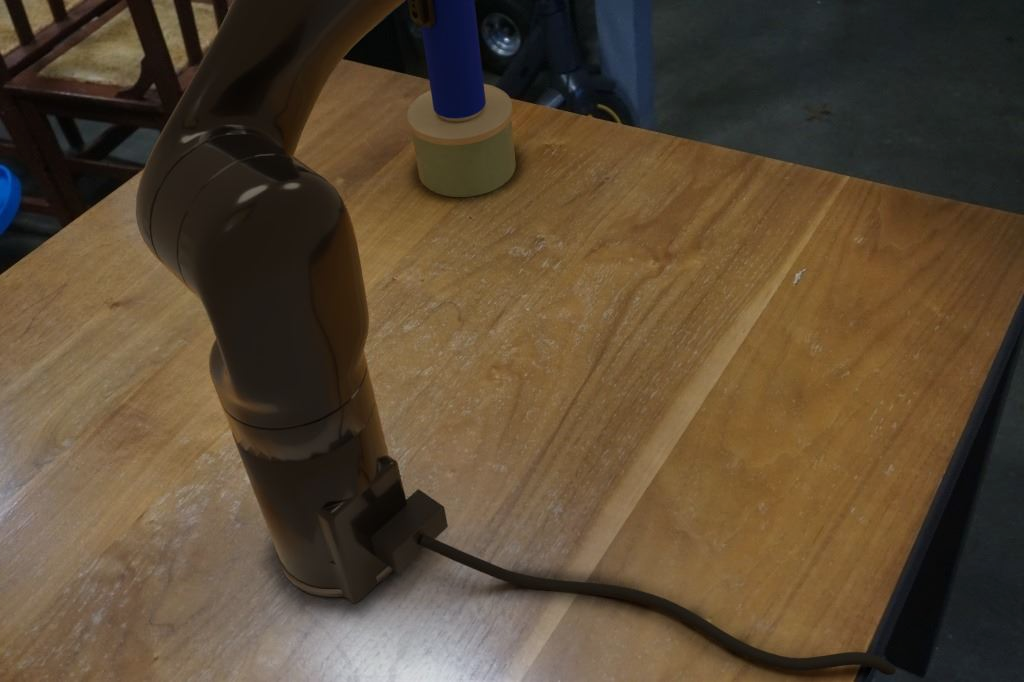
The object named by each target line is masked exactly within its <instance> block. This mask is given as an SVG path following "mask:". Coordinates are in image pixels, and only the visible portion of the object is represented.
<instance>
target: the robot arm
mask: <svg viewBox="0 0 1024 682" xmlns="http://www.w3.org/2000/svg"><path fill="white" fill-rule="evenodd" d="M406 1H407V5H408V11H409V12H408V13H409V17H410V19H411V20H412V21H413V22H414V23H415V24H416V25H417V26H420V27H421V26H423V27H426V28H430V27H432V26H434V25H435V24H436V18H435V11H434V4H433V0H232V2H231V3H230V6H229V8H228V11H227V13H226V14H225V16H224V19H223V21H222V23H221V24H220V27H219V29H218V30H217V33H216V35H214V38H213V40H212V42H211V44H210V45H209V47H208V49H207V51H206V52H205V55H204V56H203V58H202V60H201V62H200V64H199V66H198V67H197V68H196V71H195V72H194V74H193V76H192V77H191V79H190V81H189V83H188V85H187V87H186V89H185V90H184V92H183V94H182V95H181V97H180V99H179V101H178V102H177V104H176V106H175V107H174V110H173V112H172V113H171V115H170V117H169V118H168V120H167V122H166V124H165V125H164V128H163V129H162V131H161V133H160V135H159V137H158V138H157V140H156V143H155V144H154V146H153V148H152V150H151V152H150V154H149V156H148V159H147V161H146V163H145V166H144V168H143V171H142V173H141V177H140V179H139V184H138V187H137V192H136V200H135V202H136V203H135V217H136V224H137V228H138V231H139V234H140V236H141V239H142V240H143V242H144V244H145V245H146V247H147V248H148V249H149V251H150V252H151V254H152V255H153V256H154V257H155V258H156V259H157V260H158V261H159V262H160V263H161V264H162V265H163V266H164V267H165V268H166V269H167V270H168V271H169V272H170V273H171V274H172V275H173V276H174V277H175V278H176V279H178V280H179V282H180V283H182V285H184V286H185V287H186V288H187V289H188V290H189V291H190V292H191V293H192V294H193V295H195V297H196V298H197V299H199V300H200V302H201V303H202V305H203V308H204V311H205V312H206V315H207V317H208V319H209V322H210V325H211V327H212V330H213V333H214V336H215V340H214V342H213V344H212V346H211V349H210V352H209V357H208V369H209V374H210V378H211V381H212V385H213V387H214V391H215V392H216V395H217V397H218V400H219V403H220V406H221V408H222V411H223V413H224V417H225V418H226V421H227V424H228V427H229V429H230V432H231V435H232V438H233V440H234V444H235V446H236V448H237V451H238V453H239V457H240V459H241V461H242V464H243V467H244V470H245V472H246V475H247V477H248V480H249V483H250V485H251V488H252V491H253V493H254V496H255V498H256V501H257V504H258V507H259V510H260V512H261V515H262V517H263V520H264V522H265V525H266V528H267V530H268V533H269V536H270V538H271V540H272V543H273V545H274V547H275V550H276V552H275V553H276V556H277V560H278V563H279V565H280V568H281V570H282V572H283V574H284V575H285V577H286V578H287V579H288V581H290V583H291V584H293V585H294V586H295V587H297V588H298V589H300V590H301V591H303V592H305V593H308V594H311V595H315V596H319V597H327V598H336V597H337V598H340V597H344V598H345V599H347V600H349V601H350V602H351V603H354V604H356V603H359V602H360V601H361V600H363V598H364V597H365V596H366V595H367V594H369V593H370V592H371V591H372V590H373V589H374V588H375V587H376V586H377V585H378V584H379V583H380V582H382V581H383V580H385V579H386V578H387V577H388V576H389V575H390V574H391V573H392V572H393V571H394V572H395V573H397V574H399V573H400V572H401V571H402V570H403V569H405V568H406V567H407V565H409V564H410V563H411V562H412V561H413V560H414V559H415V558H416V557H417V556H418V555H420V554H421V553H422V552H423V551H424V550H425V549H426V550H429V551H432V552H434V553H436V554H438V555H440V556H443V557H445V558H447V559H449V560H451V561H453V562H456V563H458V564H461V565H463V566H465V567H468V568H470V569H472V570H475V571H478V572H480V573H483V574H484V575H487V576H490V577H492V578H494V579H496V580H500V581H502V582H506V583H509V584H512V585H517V586H521V587H525V588H530V589H536V590H544V591H550V592H558V593H559V592H560V593H571V594H580V595H581V594H582V595H592V596H593V595H594V596H602V597H608V598H609V597H610V598H616V599H620V600H621V599H622V600H627V601H630V602H636V603H639V604H643V605H647V606H649V607H652V608H655V609H658V610H660V611H663V612H665V613H667V614H670V615H672V616H673V617H676V618H677V619H679V620H681V621H683V622H685V623H686V624H688V625H690V626H692V627H693V628H695V629H696V630H698V631H699V632H701V633H703V634H704V635H706V636H708V637H709V638H711V639H712V640H713V641H716V642H717V643H719V644H720V645H722V646H724V647H725V648H727V649H729V650H731V651H733V652H735V653H737V654H739V655H741V656H743V657H745V658H747V659H749V660H752V661H754V662H757V663H760V664H763V665H766V666H769V667H772V668H775V669H781V670H787V671H797V672H798V671H799V672H802V671H803V672H804V671H805V672H806V671H818V670H824V669H831V668H838V667H844V666H865V667H869V668H872V669H875V670H877V671H878V672H880V673H882V674H883V675H887V676H893V675H894V674H896V672H897V668H896V667H895V665H893V664H892V663H891V662H889V660H887V659H885V658H883V657H881V656H880V655H879V656H878V655H876V654H873V653H869V652H861V651H849V652H838V653H831V654H826V655H819V656H813V657H812V656H811V657H789V656H783V655H780V654H775V653H773V652H769V651H765V650H762V649H760V648H758V647H754V646H752V645H750V644H748V643H746V642H743V641H742V640H740V639H738V638H737V637H734V636H732V635H731V634H729V633H728V632H725V631H724V630H722V629H721V628H719V627H718V626H716V625H714V624H712V623H711V622H710V621H708V620H706V619H705V618H703V617H702V616H700V615H699V614H697V613H695V612H693V611H691V610H689V609H688V608H686V607H684V606H682V605H679V604H677V602H673V601H671V600H668V599H666V598H664V597H661V596H658V595H656V594H654V593H653V594H652V593H650V592H645V591H642V590H638V589H634V588H631V587H626V586H619V585H612V584H605V583H597V582H586V581H574V580H573V581H572V580H562V579H561V580H560V579H551V578H544V577H539V576H532V575H528V574H523V573H519V572H515V571H512V570H509V569H506V568H504V567H500V566H499V565H496V564H494V563H491V562H489V561H486V560H484V559H481V558H479V557H477V556H474V555H472V554H470V553H467V552H465V551H462V550H460V549H458V548H457V547H456V548H455V547H453V546H452V545H449V544H446V543H444V542H442V541H440V540H438V539H437V538H438V537H439V536H440V535H441V534H442V533H443V532H445V530H446V529H447V528H448V527H449V525H448V520H447V514H446V510H445V506H444V505H443V504H442V503H440V502H438V501H437V500H436V499H434V498H432V497H431V496H429V495H428V494H427V493H425V492H424V491H422V490H421V489H419V488H417V490H415V491H414V492H413V493H411V494H410V496H408V497H406V493H405V487H404V484H403V479H402V476H401V471H400V466H399V463H398V461H397V460H395V459H394V458H393V457H392V456H390V453H389V450H388V449H389V448H388V446H387V441H386V437H385V433H384V428H383V423H382V421H381V420H382V419H381V416H380V412H379V408H378V404H377V398H376V395H375V390H374V386H373V382H372V376H371V373H370V369H369V364H368V359H367V356H366V351H365V348H366V343H367V340H368V335H369V329H370V313H369V305H368V304H369V303H368V299H367V293H366V288H365V287H366V286H365V281H364V276H363V270H362V262H361V257H360V251H359V246H358V240H357V237H356V232H355V228H354V225H353V222H352V218H351V215H350V213H349V210H348V208H347V206H346V204H345V201H344V199H343V198H342V196H341V194H340V193H339V191H338V190H337V188H336V187H334V185H333V184H332V183H330V181H329V180H327V179H326V178H325V177H324V176H322V175H321V174H319V173H318V172H317V171H315V170H313V169H312V168H311V167H310V166H308V165H307V164H306V163H304V162H303V161H301V160H300V159H299V158H297V157H296V156H295V154H296V151H297V148H298V145H299V143H300V139H301V137H302V134H303V132H304V129H305V127H306V125H307V122H308V120H309V118H310V116H311V114H312V112H313V110H314V108H315V105H316V103H317V101H318V99H319V97H320V95H321V93H322V91H323V89H324V88H325V86H326V84H327V82H328V80H329V79H330V77H331V76H332V73H333V72H334V70H336V68H337V67H338V65H339V64H340V63H341V61H342V60H343V59H344V58H345V56H347V54H348V53H349V52H350V51H351V50H352V48H353V47H354V46H355V45H357V44H358V43H359V42H360V41H361V40H362V39H363V38H364V37H365V36H366V35H367V34H368V33H369V32H371V31H372V30H373V29H374V28H375V27H377V26H378V25H379V24H380V23H381V22H383V21H384V20H385V19H386V18H387V17H389V16H390V15H391V14H392V13H394V12H395V11H396V10H397V9H398V8H400V6H402V5H403V4H404V3H406ZM477 1H478V0H474V2H477Z"/></svg>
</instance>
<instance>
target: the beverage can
mask: <svg viewBox="0 0 1024 682" xmlns="http://www.w3.org/2000/svg"><path fill="white" fill-rule="evenodd" d="M475 2H476V1H475ZM475 2H474V0H433V4H434V11H435V18H436V24H435V25H434V26H432V27H430V28H426V27H423V26H421V25H420V28H421V34H422V41H423V48H424V54H425V60H426V61H425V62H426V67H427V72H428V80H429V87H430V90H431V95H432V101H433V108H434V111H435V112H436V113H437V114H438V115H439V116H440V117H441V118H443V119H445V120H447V121H452V122H462V121H467V120H470V119H473V118H474V117H476V116H478V115H479V114H480V113H481V111H482V110H483V108H484V107H485V104H486V100H485V91H484V84H485V83H484V74H483V65H482V58H481V57H482V56H481V48H480V38H479V29H478V19H477V12H476V3H475Z"/></svg>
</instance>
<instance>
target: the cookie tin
mask: <svg viewBox="0 0 1024 682" xmlns="http://www.w3.org/2000/svg"><path fill="white" fill-rule="evenodd" d="M484 91H485V100H486V104H485V107H484V108H483V110H482V111H481V113H480V114H479V115H478V116H476V117H474V118H473V119H470V120H467V121H462V122H452V121H447V120H445V119H443V118H441V117H440V116H439V115H438V114H437V113H436V112H435V111H434V108H433V101H432V95H431V89H429V90H427V91H426V92H424V93H422V94H421V95H419V96H418V97H417V98H415V99H414V100H413V102H411V104H410V106H409V107H408V109H407V113H406V116H407V117H406V118H407V124H408V127H409V129H410V131H411V136H412V141H413V147H414V153H415V160H416V166H417V171H418V177H419V180H420V182H421V183H422V185H423V186H424V187H425V188H427V189H428V190H429V191H431V192H433V193H435V194H438V195H441V196H445V197H453V198H469V197H476V196H480V195H484V194H488V193H490V192H493V191H496V190H497V189H499V188H501V187H502V186H504V185H505V184H506V183H508V182H509V180H510V179H511V178H512V177H513V175H514V173H515V171H516V168H517V167H516V165H517V164H516V163H517V162H516V153H515V151H516V150H515V142H514V141H515V139H514V131H513V120H512V119H513V115H514V108H513V102H512V99H511V97H510V96H509V95H508V93H506V91H504V90H503V89H502V88H501V89H500V88H499V87H497V86H494V85H491V84H486V83H484Z"/></svg>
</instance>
